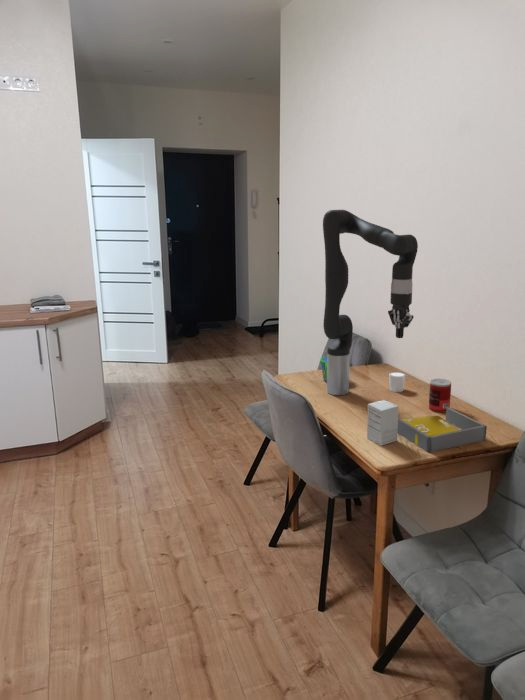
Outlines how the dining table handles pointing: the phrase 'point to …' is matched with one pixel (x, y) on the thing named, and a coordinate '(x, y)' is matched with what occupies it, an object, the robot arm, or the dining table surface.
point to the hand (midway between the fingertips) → (399, 337)
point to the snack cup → (324, 367)
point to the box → (467, 435)
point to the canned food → (439, 395)
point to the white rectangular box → (382, 422)
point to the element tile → (430, 425)
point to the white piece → (396, 381)
